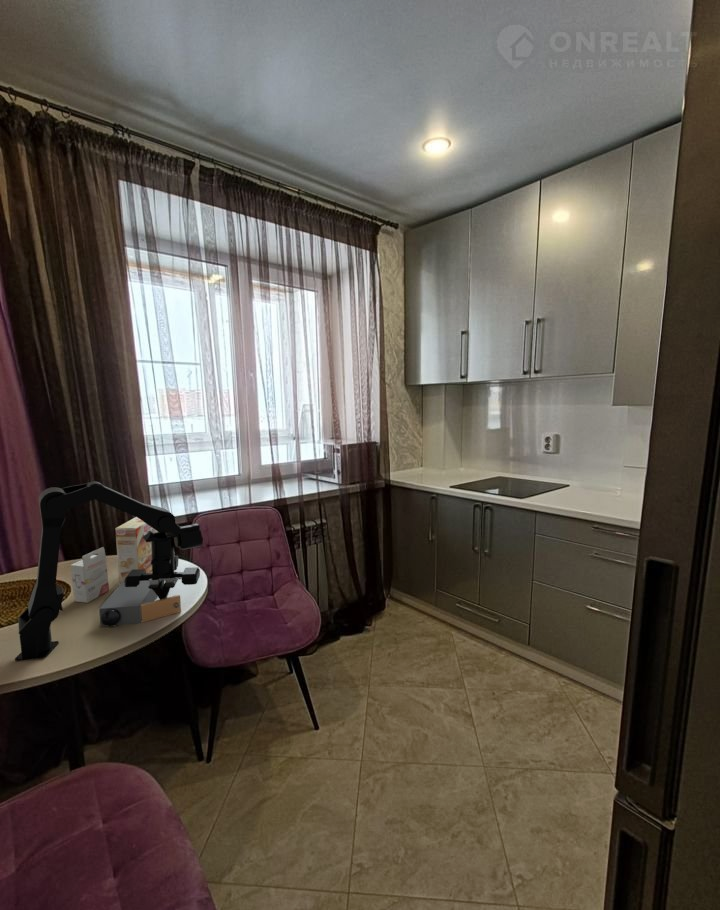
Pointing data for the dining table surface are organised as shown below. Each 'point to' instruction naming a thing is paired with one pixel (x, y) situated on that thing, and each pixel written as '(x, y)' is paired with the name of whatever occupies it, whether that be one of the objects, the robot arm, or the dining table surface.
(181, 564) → the dining table surface
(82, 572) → the ink cartridge box
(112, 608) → the box
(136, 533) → the coffeecake box
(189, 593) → the dining table surface
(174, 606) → the side door
